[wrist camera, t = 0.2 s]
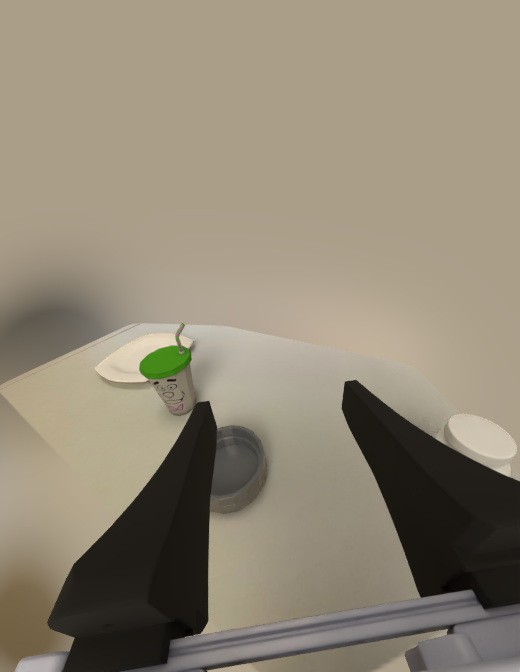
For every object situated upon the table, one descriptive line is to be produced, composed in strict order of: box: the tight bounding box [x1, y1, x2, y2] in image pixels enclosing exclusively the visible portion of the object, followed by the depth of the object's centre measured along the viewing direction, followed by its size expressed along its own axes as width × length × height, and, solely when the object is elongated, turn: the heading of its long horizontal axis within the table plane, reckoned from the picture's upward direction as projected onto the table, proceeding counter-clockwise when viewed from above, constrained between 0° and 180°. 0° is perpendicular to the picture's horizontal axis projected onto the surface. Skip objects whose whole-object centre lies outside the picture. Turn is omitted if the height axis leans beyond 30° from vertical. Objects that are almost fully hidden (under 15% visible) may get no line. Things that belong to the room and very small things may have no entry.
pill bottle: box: [434, 414, 517, 477], centre depth 23 cm, size 6×6×10 cm
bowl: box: [210, 426, 266, 514], centre depth 29 cm, size 9×9×4 cm
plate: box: [94, 333, 194, 382], centre depth 55 cm, size 19×19×2 cm
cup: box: [139, 323, 196, 415], centre depth 38 cm, size 8×8×15 cm
